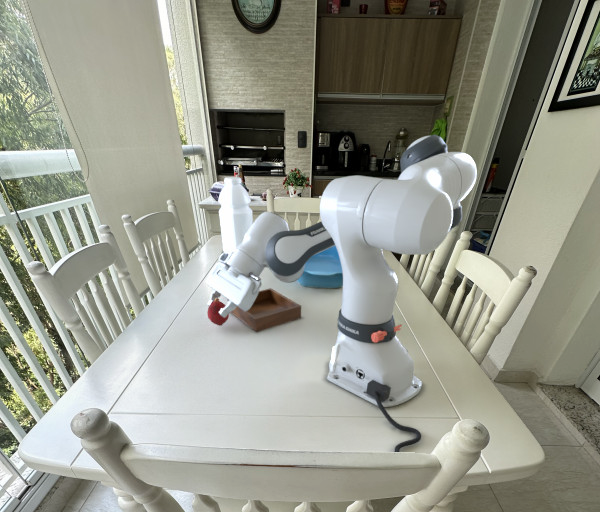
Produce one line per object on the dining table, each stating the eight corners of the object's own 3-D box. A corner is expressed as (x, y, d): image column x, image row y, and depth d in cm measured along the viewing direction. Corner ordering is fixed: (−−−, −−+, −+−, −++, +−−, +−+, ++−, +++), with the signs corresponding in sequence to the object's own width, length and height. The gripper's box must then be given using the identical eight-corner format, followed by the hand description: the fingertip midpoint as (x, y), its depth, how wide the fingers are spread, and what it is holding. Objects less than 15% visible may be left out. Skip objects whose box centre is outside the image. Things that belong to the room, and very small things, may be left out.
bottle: (252, 256, 151) (248, 180, 134) (220, 255, 151) (211, 179, 134) (256, 247, 162) (252, 175, 145) (226, 246, 162) (218, 175, 145)
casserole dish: (353, 295, 120) (355, 274, 116) (288, 291, 122) (288, 270, 117) (350, 261, 149) (352, 243, 144) (298, 258, 150) (298, 240, 146)
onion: (225, 331, 97) (222, 303, 92) (206, 329, 98) (201, 301, 93) (233, 322, 102) (230, 295, 96) (214, 320, 102) (210, 293, 97)
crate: (301, 318, 106) (301, 305, 103) (256, 332, 98) (255, 319, 96) (271, 299, 116) (270, 288, 114) (228, 311, 109) (227, 299, 106)
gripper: (271, 286, 91) (242, 330, 93) (234, 265, 104) (208, 304, 105) (255, 272, 86) (224, 319, 88) (218, 252, 99) (191, 293, 100)
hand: (215, 311), depth 97 cm, fingers closed on onion, 5 cm apart
